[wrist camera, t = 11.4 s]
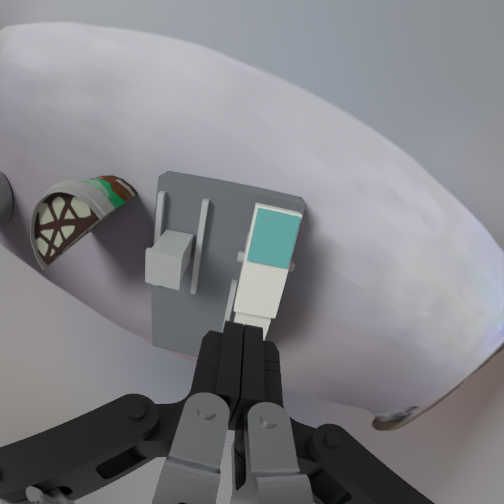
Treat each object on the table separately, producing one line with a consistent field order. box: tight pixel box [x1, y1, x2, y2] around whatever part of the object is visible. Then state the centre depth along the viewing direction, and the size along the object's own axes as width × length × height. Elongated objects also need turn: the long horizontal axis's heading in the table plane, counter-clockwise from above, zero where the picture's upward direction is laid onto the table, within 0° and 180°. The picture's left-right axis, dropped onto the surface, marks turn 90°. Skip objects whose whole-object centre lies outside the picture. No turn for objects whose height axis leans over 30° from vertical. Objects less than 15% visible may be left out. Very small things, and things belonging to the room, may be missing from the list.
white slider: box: [234, 312, 271, 340], centre depth 29 cm, size 3×3×6 cm
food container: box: [30, 176, 138, 270], centre depth 25 cm, size 12×6×10 cm, turn 119°
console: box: [152, 171, 306, 356], centre depth 32 cm, size 15×24×6 cm, turn 168°
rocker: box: [234, 203, 302, 319], centre depth 25 cm, size 5×10×2 cm, turn 168°
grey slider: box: [145, 229, 194, 290], centre depth 26 cm, size 3×3×6 cm
